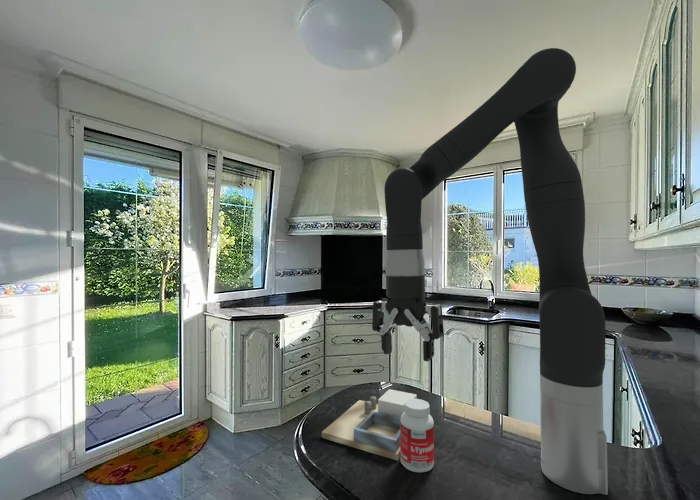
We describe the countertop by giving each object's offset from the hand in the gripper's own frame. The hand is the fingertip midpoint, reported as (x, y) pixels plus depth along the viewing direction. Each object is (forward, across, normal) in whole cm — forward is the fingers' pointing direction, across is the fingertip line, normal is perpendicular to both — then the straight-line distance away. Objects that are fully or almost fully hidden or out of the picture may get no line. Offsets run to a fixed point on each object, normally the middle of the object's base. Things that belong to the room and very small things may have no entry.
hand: (406, 356), depth 65 cm
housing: (+18, +8, -11) cm, 22 cm away
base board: (+19, +11, -5) cm, 23 cm away
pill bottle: (+19, -2, +1) cm, 20 cm away
